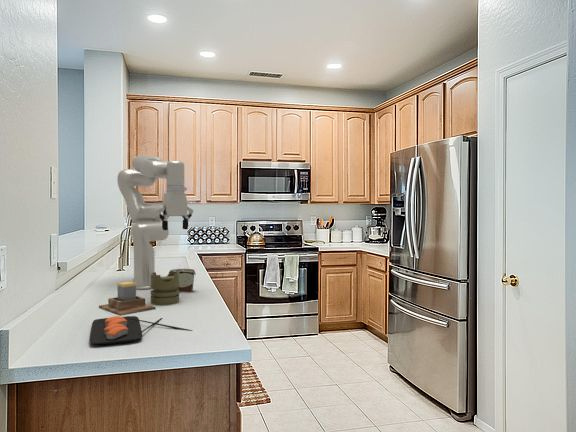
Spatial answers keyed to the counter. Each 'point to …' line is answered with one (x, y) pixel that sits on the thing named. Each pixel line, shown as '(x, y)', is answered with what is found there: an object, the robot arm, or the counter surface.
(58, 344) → the counter surface
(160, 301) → the piston
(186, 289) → the food container
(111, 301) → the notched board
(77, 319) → the counter surface
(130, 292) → the gold and gray block
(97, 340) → the sushi plate
